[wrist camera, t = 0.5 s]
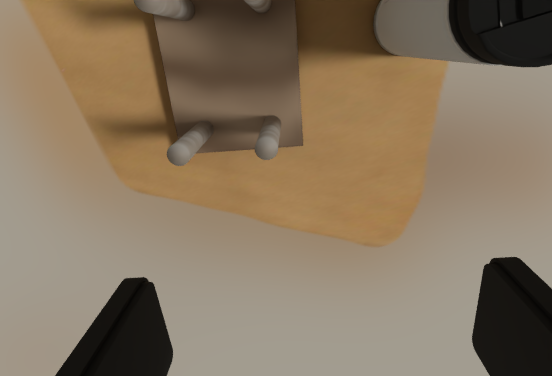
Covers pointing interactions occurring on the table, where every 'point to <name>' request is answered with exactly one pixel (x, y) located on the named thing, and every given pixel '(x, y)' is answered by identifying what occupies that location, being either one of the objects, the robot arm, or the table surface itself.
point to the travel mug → (467, 30)
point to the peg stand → (230, 74)
